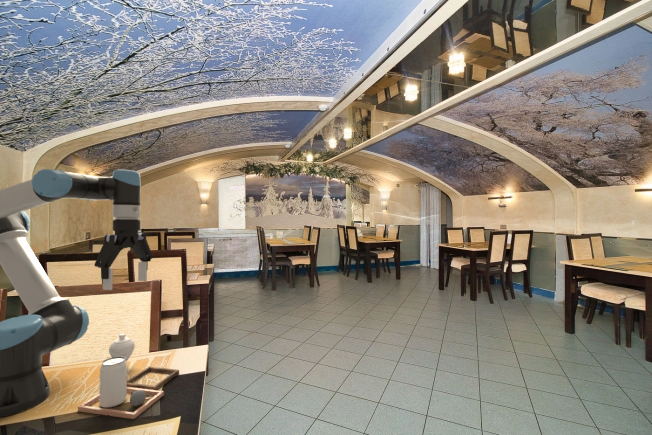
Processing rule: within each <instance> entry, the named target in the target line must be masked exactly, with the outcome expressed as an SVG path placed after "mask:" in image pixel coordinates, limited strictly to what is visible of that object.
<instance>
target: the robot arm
mask: <svg viewBox="0 0 652 435" xmlns="http://www.w3.org/2000/svg"><path fill="white" fill-rule="evenodd" d="M141 190H142V184H141V174H140V172H139V171H135V170H130V169H114V170H113V172H112V176H96V175H89V174H84V173H83V174H82V173H75V172H69V171H64V170H60V169H49V168H45V169H40V170H38V171H37V172H36V174H34V175H33V177H32V179H29V180H26V181H23V182H20V183H16V184H13V185H10V186H8V187H4V188H1V189H0V267H1V268H2V271H3V272H4V273H5V275H6V276H7V278H8V280H9V281H10V283H11V285H12V286H13V288H14V290H15V292H16V293H17V294H18V297H19V298H20V300H21V301H22V303H23V305H24V306H25V308H26V310H27V311H28V312H27V313H28V314H23V315H19V316H16V317H15V316H14V317H11V318H7V319H5V320H2V321H0V418H3V416H4V417H8V415H9V416H12V415H16V414H19V413H22V412H24V411H27V410H29V409H31V408H33V407H35V406H37V405H39V404H40V403H42V402H44V401H45V400H46V399H48V397H49V395H50V383H49V382H48V379H47V377H46V375H45V373H44V371H43V364H42V363H43V356H44V355H47V354H49V353H52V352H54V351H56V350H58V349H61V348H63V347H65V346H70V345H71V344H73V343H75V342H77V341H78V340H80V339H81V338H82V337H84V335H85V334H86V333H87V330H88V327H89V325H90V318H89V317H90V316H89V314H88V312H87V311H86V309H85V308H84V307H83V306H79V305H72V303H71V301H70V299H69V298H67V297H61V296H60V295H59V293H58V291H57V289H56V288H55V286H54V284H53V283H52V281H51V279H50V278H49V276H48V275H47V273H46V271H45V270H44V268H43V266H42V264H41V263H40V262H39V260H38V258H37V256H36V255H35V253H34V251H33V250H32V248H31V247H30V245H29V244H28V242H27V239H28V238H27V237H28V236H29V230H30V224H31V221H30V220H31V219H30V217H29V216H28V214H27V213H26V212H25V211H27V210H31V209H34V208H37V207H41V206H44V205H46V204H49V203H53V202H56V201H60V200H62V199H75V200H76V199H77V200H78V199H79V200H83V201H94V202H95V201H112V218H114V219H113V220H112V231H114V234H105V235H104V240H103V244H102V245H101V248H100V251H99V253H98V255H97V257H96V260H95V262H94V267H96V268H100V269H101V272H100V278H101V280H102V290H105V291H112V290H113V287H114V286H113V279H114V278H113V273H114V272H113V271H114V270H113V269H114V268H113V267H111V266H112V265H113V263H114V262H115V260H116V259H117V257H118V256H119V255H120V252H121V251H122V250H124V249H129V248H131V250H132V251H133V252H134V254H135V255H136V256H137V258H138V259H139V260H140V261H138V265H137V266H138V268H137V269H138V270H137V272H138V274H137V275H138V276H137V278H138V279H137V281H139V282H147V278H148V277H147V276H148V269H149V268H148V267H149V264H148V263H149V262H151V261H152V260H151V259H153V258H154V257H153V253H152V250H151V248H150V245H149V243H148V240H147V234H146V232H138V231H140V230H141V219H139V218H141Z"/></svg>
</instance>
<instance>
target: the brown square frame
mask: <svg viewBox="0 0 652 435" xmlns="http://www.w3.org/2000/svg"><path fill="white" fill-rule="evenodd" d="M150 372H152V373H159V374H160V373H161V374H169V375H167V376H166V377H165V378H163V379H162V380H161V381H159V382H158V383H157V384H155V385H152V384H151V385H150V384H143V383H134V382H135V381H137V380H138V379H140V378H141V377H143V376H145V375H146V374H148V373H150ZM178 373H180V369H177V368H175V369H174V368H164V367H157V366H147V368H145V369H143V370H141V371H140V372H138V373H136V374H135V375H134V376H132V377H130V378H129V379H127V387H133V388H141V389H149V390H158V391H159V389H160V388H162V387H163V386H164V385H165V384H168V382H170V381H171V380H172V379H173V378H175V377H176V376H178V375H179V374H178Z"/></svg>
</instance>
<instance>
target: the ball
mask: <svg viewBox="0 0 652 435" xmlns="http://www.w3.org/2000/svg"><path fill="white" fill-rule="evenodd" d="M146 399H147V395H146V393H145V392H144V391H143V390H137V391H135V392H133V393H131V395H130V397H129V402H130V405H131V406H133V407H139V406H141V405H143V404H144V402H145V401H146Z"/></svg>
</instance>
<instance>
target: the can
mask: <svg viewBox="0 0 652 435" xmlns="http://www.w3.org/2000/svg"><path fill="white" fill-rule="evenodd" d="M127 365H128V364H127V362H126V361H125V357H122V356H116V357H111V356H110V357H108V358H105V359H104V360H103V361H102V362H101V366H100V368H99V393H100V399H99V406H100V408H105V409H111V408H113V407H118V406H119V405H121V404H123V403H124V402H125V401H126V399H127V393H128V392H127V380H128V379H127V374H128V373H127V371H128V366H127Z"/></svg>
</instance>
